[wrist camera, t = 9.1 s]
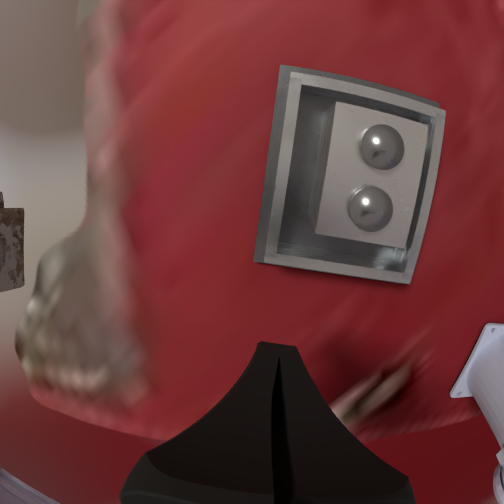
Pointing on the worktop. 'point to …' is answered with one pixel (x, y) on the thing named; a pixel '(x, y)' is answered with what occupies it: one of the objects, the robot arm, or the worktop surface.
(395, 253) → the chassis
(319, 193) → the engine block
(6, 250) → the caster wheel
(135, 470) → the robot arm
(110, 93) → the worktop surface
